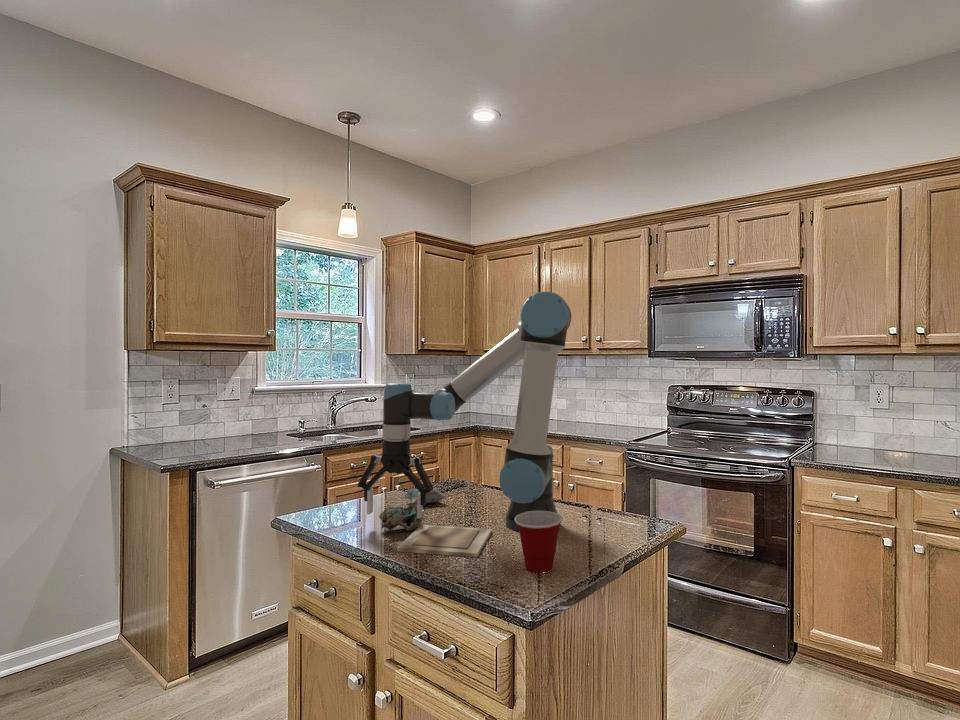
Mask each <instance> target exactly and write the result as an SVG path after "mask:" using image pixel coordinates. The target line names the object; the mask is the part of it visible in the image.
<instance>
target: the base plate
mask: <svg viewBox="0 0 960 720" xmlns="http://www.w3.org/2000/svg"><path fill="white" fill-rule="evenodd" d="M492 533H493V529H492V528H483V527H465V526H450V525H449V526H448V525H434V524H433V525H432V524H422V525H421V526H418V527H417V528H415V529H414V531H412V533H411V534H410V535H409V536H408V537H407V538H406V539H405V540H403V541H402V543H400V544H399V545H398V546H397V547H396V550H397V551H396V552H400V553H415V554H429V555H443V556H457V557H458V556H459V557H470V558H471V557H472V558H478V557H479V555H480V553H481V551H482V550H483V547H485V545H486V543H487V541H488V539H489V538H490V536H491V535H492Z"/></svg>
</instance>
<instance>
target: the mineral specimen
mask: <svg viewBox="0 0 960 720" xmlns="http://www.w3.org/2000/svg"><path fill="white" fill-rule="evenodd" d="M423 517H424V515H423V516H422V517H421V518H417V504H416V503H412V504H411V503H410V504H409V505H408V506H407V507H401V506H399V507H398V506H390V505H389V506H386V507H385V508H384V510H383V511H382V512H380V514H378V518H379V519H380V521H381V529H384V528H386V529H387V530H389V531H391V530H393V529H395V528H397V527H398V526H399V527H402V528H404V530H405V531H406V532H410V531H413V530H416V529H417V528H418V527H419V526H421V525H423V521H422V520H423Z"/></svg>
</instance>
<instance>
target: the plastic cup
mask: <svg viewBox="0 0 960 720" xmlns="http://www.w3.org/2000/svg"><path fill="white" fill-rule="evenodd" d="M514 520H515V522H516V524H517V526H518V529H519V531H518V532H519V536H520V542H521V543H520V544H521V548H522V549H521V550H522V554H523V560H524V565H525V569H526V570H528V571H527V572H529V571H530V572H529V573H531V572H534V573H533V574H536V573H543V572H548V571H550V570H551V569H553V566H554V559H555V555H556V550H557V549H556V548H557V543H558V538H559V537H558V536H559V531H560V528H561V527H560V526H561V523H562V521H563V516H562V515H561V513H558V512H557V513H555V512H551V511H528V512H525V513H521V514H519V515H517V516H516V517H515V519H514ZM551 571H552V570H551ZM551 571H550V572H551Z"/></svg>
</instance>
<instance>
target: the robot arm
mask: <svg viewBox="0 0 960 720" xmlns="http://www.w3.org/2000/svg"><path fill="white" fill-rule="evenodd" d="M570 308H571V307H570V306H569V305H568V303H567V301H566V300H565V299H564V298H563V297H562V296H561V295H560V294H557V293H556V292H552V291H538V292H535V293H532V295H530V296H529V297H527V299H526V300H525V301H524V303H523V305H522V307H521V311H520V321H519V322H518V326H517V328H516V329H515V330H514V331H513V332H511V333H510V334H508V336H506V337H505V338H503V339H502V340H501V341H500V342H498V343H497V344H496V345H495V346H493V347H492V348H491V349H489V351H487V352H486V353H485V354H483V355H482V356H481V357H479V358H478V359H477V360H476V361H474V362H473V363H472V364H471V365H469V367H467V368H466V369H465V370H463V371H461V373H459V374H458V375H457V376H456V377H454V378H452V380H451V381H449V382H448V383H447V384H445V385H444V386H443V387H442V388H441V389H438V390H433V391H416V390H413V389H412V385H411V383H406V382H405V383H403V382H390V383H386V384H385V386H384V389H383V399H382V400H383V401H382V402H383V407H382V408H383V409H382V412H383V415H382V416H383V417H382V418H383V419H382V439H383V441H382V452H381V453H382V455H379V454H377V453H376V454H372V455H371V457H370V460H369V464H368V466H367V467H366V469H365V471H364V473H363V475H362V476H361V477H360V480H359V482H358V483H357V487H358V488H361V489H363V491H364V492H363V500H364V502H366V515H371V514H372V513H373V512H374V491H375V490H374V488H372V487H373V486H374V485H375V484H376V483H377V482H378V481H379V480H380V478H381V477H382V476H383V475H385V474H386V473H389V474H396V475H401V474H403V475H404V476H405V477H407V478H408V480H409V481H410V483H412V484H413V486H414V487H415V488H417V489H418V491H419V492H420V493H419V494H418V496H417V504H416V505H417V518H421V517H422V516H423V517H424V513H423V511H424V509H423V508H424V506H426V505H427V504H426V494H427V493H428V492H431V491H432V490H433V487H434V486H433V484H432V481H431V479H430V478H429V476H428V474H427V472H426V470H425V468H424V466H423V464H422V463H423V462H422V457H421V456H417V457H411V456H410V455H411V441H410V438H411V424H412V423H411V421H412V419H417V420H418V419H421V420H434V421H438V422H439V421H449V420H451V419H452V418H453V416H454V414H455V413H456V412H458V411H459V410H460V409H461V407H462V406H463V405H464V404H466V403H467V402H468V401H469V400H471V399H472V398H473V397H475V396H476V395H477V394H479V393H480V392H481V391H482V390H484V389H485V388H486V387H488V386H489V385H490V384H491V383H492V382H494V381H495V380H497V379H498V378H499V377H500V376H502V375H503V374H504V373H505V372H507V371H508V370H509V369H511V368H512V367H513V366H514V365H516V364H517V363H518V362H519V361H521V360H522V359H523V361H522V369H521V370H522V371H521V378H520V385H519V392H518V398H517V399H518V401H517V408H516V415H515V416H516V417H515V424H514V429H513V430H514V431H513V439H512V440H511V441H510V442H509V443H507V444H506V447H505V454H504V455H505V456H504V462H503V465H502V468H501V469H500V472H499V477H498V478H499V486H500V488H501V489H500V490H501V491H502V492H503V494H504V495H505V496H506V498H508V499H509V500H510V503H509V506H508V508H507V512H506V515H505V527H506V528H508V529H509V530H512V531H514V532H515V531H516V532H519V529H518V526H517V524H516V522H515V520H514V519H515V517H516V516H517V515H519V514H521V513H525V512H528V511H551V512H555V513H558V511H557V509H556V504H555V501H554V497H553V496H554V494H553V493H554V483H553V482H554V475H553V474H554V472H553V471H554V470H553V469H554V456H555V455H554V450H553V447H552V446H551V445H548V444H547V440H548V432H549V425H550V416H551V410H552V400H553V395H554V388H555V387H554V385H555V378H556V370H557V365H558V363H557V362H558V355H559V353H560V352H561V351H563V350H564V349H565V348H566V341H567V336H568V335H567V334H568V330H569V328H570V325H571V323H572V311H571V309H570ZM379 463H381V464H382V467H381V468H380V469H379V471H377V472H376V474H374V476H373V477H372V478H371V479H370V476H371V474H372V472H373V471H374V470H375V468H376V467H377V464H379ZM410 464H412V465H413V467H414V468H415V470H416V472H417V473H418V477H420V479H419V478H418V477H417V475H416V474H415V472H414V471H413V470H412V468H411V467H410ZM369 479H370V480H369ZM420 480H421V481H420ZM367 481H368V482H367Z"/></svg>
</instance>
